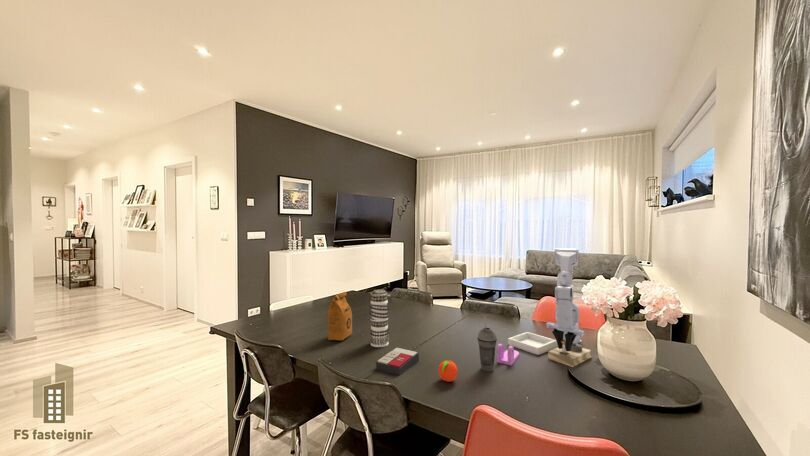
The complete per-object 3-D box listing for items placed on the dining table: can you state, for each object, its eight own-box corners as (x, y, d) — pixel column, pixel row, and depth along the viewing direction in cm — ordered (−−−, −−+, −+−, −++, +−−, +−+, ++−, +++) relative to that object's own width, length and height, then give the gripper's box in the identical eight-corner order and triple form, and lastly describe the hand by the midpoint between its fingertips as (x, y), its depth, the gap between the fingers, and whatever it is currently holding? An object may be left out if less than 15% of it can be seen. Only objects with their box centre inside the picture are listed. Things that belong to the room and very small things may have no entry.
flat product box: (375, 360, 125) (396, 345, 138) (375, 371, 125) (396, 355, 138) (399, 366, 119) (418, 350, 132) (399, 378, 119) (419, 361, 132)
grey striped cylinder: (366, 345, 149) (365, 291, 149) (375, 339, 158) (374, 288, 157) (384, 348, 146) (383, 293, 145) (392, 341, 154) (391, 289, 154)
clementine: (451, 388, 109) (451, 367, 109) (433, 383, 113) (433, 363, 113) (461, 379, 116) (460, 359, 116) (443, 374, 120) (443, 355, 120)
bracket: (511, 365, 127) (511, 348, 127) (497, 362, 130) (497, 345, 130) (520, 354, 137) (520, 338, 137) (507, 352, 140) (507, 336, 140)
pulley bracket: (567, 350, 141) (566, 337, 141) (591, 357, 133) (591, 344, 133) (548, 358, 132) (548, 345, 132) (572, 367, 124) (572, 352, 124)
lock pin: (563, 358, 132) (562, 338, 132) (569, 360, 130) (569, 340, 130) (559, 360, 131) (559, 340, 131) (566, 362, 129) (566, 342, 128)
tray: (527, 337, 157) (527, 331, 157) (557, 347, 145) (557, 340, 145) (508, 344, 148) (508, 338, 148) (538, 355, 136) (538, 348, 136)
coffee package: (355, 334, 165) (355, 291, 165) (342, 343, 153) (342, 296, 153) (338, 332, 168) (338, 290, 168) (324, 340, 156) (324, 295, 156)
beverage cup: (486, 374, 119) (486, 320, 119) (473, 367, 125) (473, 315, 125) (501, 370, 122) (500, 317, 122) (488, 363, 129) (487, 313, 129)
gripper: (542, 313, 134) (542, 346, 134) (577, 321, 122) (578, 357, 122) (551, 310, 138) (551, 342, 138) (586, 318, 126) (586, 353, 126)
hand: (564, 349), depth 130 cm, fingers closed on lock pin, 3 cm apart
